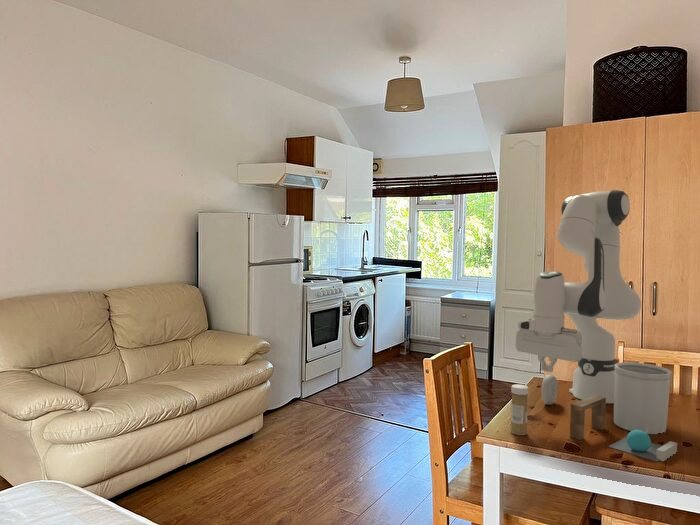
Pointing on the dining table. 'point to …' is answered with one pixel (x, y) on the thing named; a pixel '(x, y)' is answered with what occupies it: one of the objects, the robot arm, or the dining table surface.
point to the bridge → (579, 415)
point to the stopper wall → (666, 451)
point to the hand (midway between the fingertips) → (547, 371)
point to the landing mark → (647, 454)
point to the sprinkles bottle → (519, 409)
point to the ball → (638, 440)
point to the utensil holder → (641, 397)
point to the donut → (549, 389)
